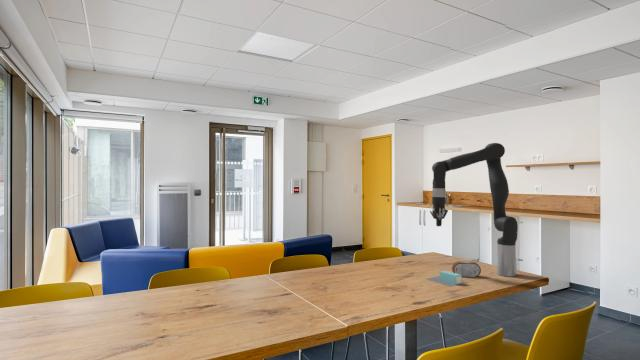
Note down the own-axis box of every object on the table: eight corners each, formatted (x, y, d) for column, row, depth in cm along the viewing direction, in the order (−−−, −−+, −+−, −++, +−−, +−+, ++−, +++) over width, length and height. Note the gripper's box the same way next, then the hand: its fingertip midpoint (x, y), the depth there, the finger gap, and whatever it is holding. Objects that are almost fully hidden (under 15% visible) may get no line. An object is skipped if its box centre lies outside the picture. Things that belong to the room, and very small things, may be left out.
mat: (442, 276, 202) (442, 275, 202) (468, 283, 187) (468, 282, 187) (424, 279, 195) (424, 278, 195) (450, 287, 180) (450, 286, 180)
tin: (479, 276, 202) (479, 261, 202) (481, 278, 199) (481, 262, 199) (451, 276, 204) (451, 260, 204) (453, 277, 200) (453, 262, 201)
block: (445, 270, 194) (461, 274, 185) (445, 279, 194) (461, 283, 185) (439, 271, 192) (455, 275, 183) (439, 280, 192) (455, 284, 183)
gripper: (435, 196, 204) (436, 227, 204) (451, 196, 211) (452, 226, 211) (425, 196, 211) (425, 226, 211) (441, 195, 218) (441, 225, 217)
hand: (439, 226), depth 211 cm, fingers closed
